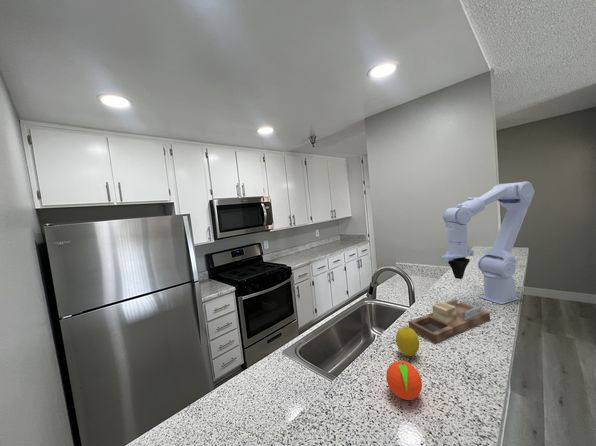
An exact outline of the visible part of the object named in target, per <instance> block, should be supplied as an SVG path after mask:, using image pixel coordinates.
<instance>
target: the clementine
mask: <svg viewBox="0 0 596 446" xmlns="http://www.w3.org/2000/svg"><path fill="white" fill-rule="evenodd" d="M385 376H386V377H385V378H386V382H387V386H388V388H389V389H390V391H391V392H392V393H393V394H394V395H395V396H396V397H397V398H399V399H402V400H404V401H411V400H414V399H416V398H418V397H419V395H420V393H421V392H422V389H423V382H422V377H421V375H420V373H419V371H418V369H416V368H415V367H414V365H412V364H411V363H409V362H408V361H404V360H396V361H394V362H392V363H391V364H389V366H388V367H387V370H386V375H385Z"/></svg>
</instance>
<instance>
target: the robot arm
mask: <svg viewBox="0 0 596 446" xmlns="http://www.w3.org/2000/svg"><path fill="white" fill-rule="evenodd" d="M534 195H535V189H534V186H533V184H532V183H531V182H530V181H526V180H525V181H521V182H511V183H499V184H496V185H494V186H492V189H490V190H489V191H487V192H486V193H484V194H482V195H481V196H479V197H477V196H476V197H475V196H473V197H472V196H470V197H467V198H466V199H467V200H465V201H463V202H462V203H458V204H456V206H455V207H449V208H447V209H446V210H445V211H444V214H443V215H442V219H443V222H444V223H445V227H446V229H447V251H445V254H444V255H440V256H441V259H440V260H441V262H443V263H448V265H449V266H450V268H451V271H452V273H453V276H454V277H453V278H454V279H457V280H458V279H459V280H463V279H464V275H465V272H466V269H467V267H468V265H469V263H470V262H471V261H470V260H471V259H470V258H467V257H470V256H471V257H473V256H474V255H475V253H474V250H473V249H468V230H467V229H468V228H467V227H468V226H467V225H468V224H469V223H470V222H471V219H472V218H473V217H475V216H476V215H478V214H480V213H481V212H484V210H485V208H486V206H487V205H489V204H492V203H494V202H496V201H498V203H499V204H500V206H502V207H503V208H505V209H506V212H505V213H504V217H503V219H502V222H501V225H500V228H499V230H498V233H497V235H496V238H495V240H494V243H493V245H492V247H491V248H489V249H488V250H486V251H483V254H482V256H480V258H479V259H478V261H477V267H478V270H479V271H481V274H482V275H483V294H480V295H478V298H481V299H483V300H487V301H490V302H493V303H494V304H495V303H496V304H498V305H504V304H507V303H511V302H514V301H518V300H519V297H517V296H516V281H515V279H514V277H513V276H514V275H515V272H516V264H517V262H518V261H517V258H515V257H514V255H513V254H512V251H513V248H514V245H515V243H516V240H517V237H518V235H519V233H520V230H521V228H522V224H523V223H524V219H525V216H526V215H527V212H528V208H529V207H531V203H532V200H533V198H534Z"/></svg>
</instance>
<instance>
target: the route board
mask: <svg viewBox="0 0 596 446" xmlns="http://www.w3.org/2000/svg"><path fill="white" fill-rule="evenodd" d="M475 307H476V306H472V305H470V304H467V303H464V302H459V303H458V302H457V307H456V318H457V319H456V320H454V321H451V322H449V323H444V322H442V321H440V320H438V319H436V318H433V312H431V313H428V314H426V315H422V316H420V317H417V318H415V319H411V320H409V321H408V327H409V328H411V329H413V330H414V331H415V332H416V334H417V336H420V337H422V338H424V339H425V340H427V341H429V342H431V343H433V344H435V345H436V344H438V343H441V342H442V341H445V340H447V339H449V338H452V337H454V336H456V335H459V334H461V333H463V332H465V331H468V330H470V329H472V328H475V327H477V326H479V325H482V324H484V323H486V322H488V321H491V312H490V311H487V310H483V309H482V308H481V315H479V316H477V317H475V318H472V319H470V320H467V321H463V318H462V312H465V311H467V310H470V309H472V308H475Z"/></svg>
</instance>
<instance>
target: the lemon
mask: <svg viewBox="0 0 596 446" xmlns="http://www.w3.org/2000/svg"><path fill="white" fill-rule="evenodd" d="M395 335H396V336H395V343H396V346H397V348H398V351H400V352H401V353H402V354H403V355H405V356H407V357H411V356H414V355H416V354H417V352H419V349H420V339H419V337H418V336H419V335H418V334H417V333H416V332H415V331H414V330H413V329H411V328H409V326H402V327H400V328H398V330H397V332H396V334H395Z"/></svg>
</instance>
